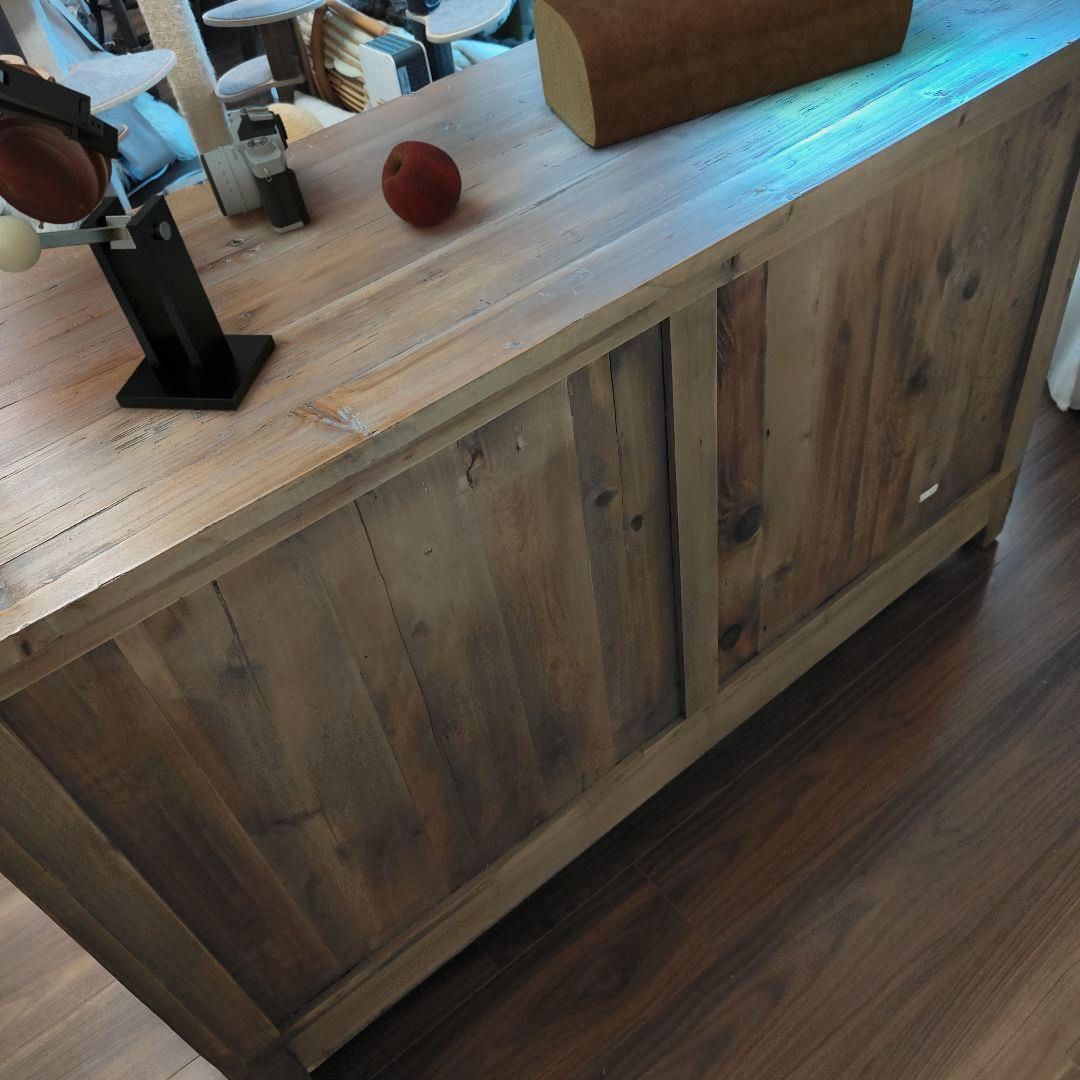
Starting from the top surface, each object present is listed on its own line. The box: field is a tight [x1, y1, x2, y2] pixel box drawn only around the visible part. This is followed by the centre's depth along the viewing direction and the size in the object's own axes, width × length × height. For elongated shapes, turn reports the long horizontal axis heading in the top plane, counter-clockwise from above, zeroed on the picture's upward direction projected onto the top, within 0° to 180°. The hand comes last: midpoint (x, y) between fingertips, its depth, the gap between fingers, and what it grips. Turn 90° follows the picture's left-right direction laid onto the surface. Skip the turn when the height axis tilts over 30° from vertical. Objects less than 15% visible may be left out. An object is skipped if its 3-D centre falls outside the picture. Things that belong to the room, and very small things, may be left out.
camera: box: [199, 106, 311, 234], centre depth 104 cm, size 16×9×10 cm, turn 23°
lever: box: [0, 213, 137, 274], centre depth 72 cm, size 16×4×4 cm, turn 168°
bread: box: [532, 0, 915, 149], centre depth 109 cm, size 16×39×13 cm, turn 112°
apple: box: [381, 140, 463, 227], centre depth 98 cm, size 7×8×8 cm
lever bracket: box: [79, 194, 277, 412], centre depth 82 cm, size 9×11×16 cm
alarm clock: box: [0, 62, 113, 230], centre depth 93 cm, size 11×5×15 cm, turn 88°
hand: (62, 146), depth 96 cm, fingers closed on alarm clock, 11 cm apart
